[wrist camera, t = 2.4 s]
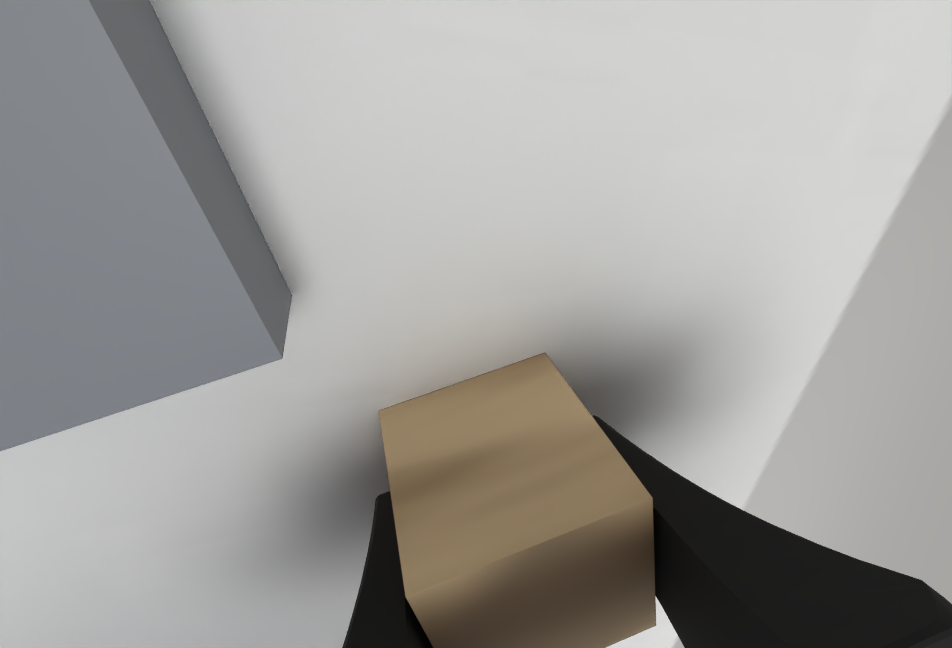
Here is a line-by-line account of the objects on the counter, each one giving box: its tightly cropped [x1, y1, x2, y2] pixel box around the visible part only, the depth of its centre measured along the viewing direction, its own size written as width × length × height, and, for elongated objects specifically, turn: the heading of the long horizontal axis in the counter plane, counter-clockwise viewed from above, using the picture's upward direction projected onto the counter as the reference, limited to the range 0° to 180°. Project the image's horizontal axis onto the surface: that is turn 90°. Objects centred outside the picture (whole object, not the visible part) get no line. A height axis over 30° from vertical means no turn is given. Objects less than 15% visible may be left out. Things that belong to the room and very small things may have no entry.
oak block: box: [379, 353, 656, 648], centre depth 12 cm, size 5×5×5 cm
